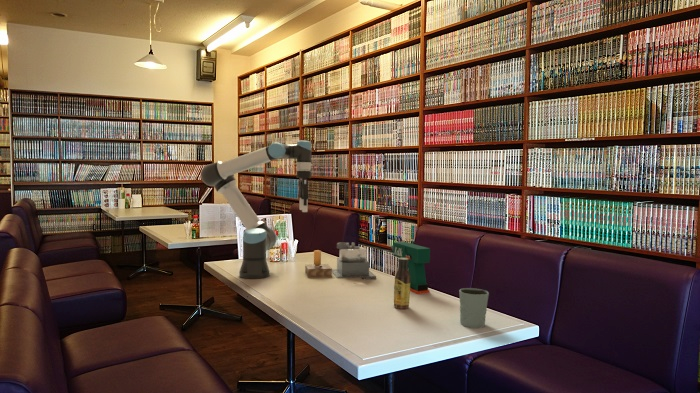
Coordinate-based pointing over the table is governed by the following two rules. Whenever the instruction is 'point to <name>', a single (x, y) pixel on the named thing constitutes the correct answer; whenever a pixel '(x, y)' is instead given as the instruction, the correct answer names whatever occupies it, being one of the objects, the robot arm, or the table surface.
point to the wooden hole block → (318, 270)
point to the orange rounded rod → (317, 258)
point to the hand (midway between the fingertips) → (303, 210)
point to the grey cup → (473, 307)
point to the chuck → (351, 252)
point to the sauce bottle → (402, 285)
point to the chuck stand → (353, 270)
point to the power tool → (414, 264)
